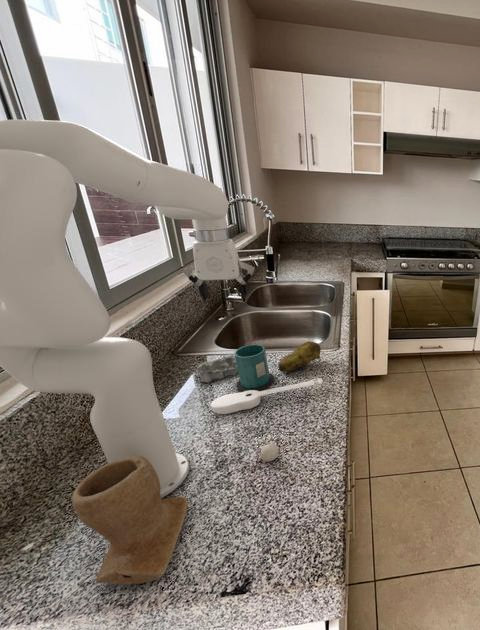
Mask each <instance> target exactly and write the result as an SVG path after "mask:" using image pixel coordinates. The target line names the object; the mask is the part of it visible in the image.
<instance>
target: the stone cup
mask: <svg viewBox="0 0 480 630" xmlns="http://www.w3.org/2000/svg"><path fill="white" fill-rule="evenodd" d="M71 504H72V507H73V510H74V512H75V514H76V515H77V517H78V519H79V520H80V521H81V522H82V524H84V525H86V526H87V527H88V528H90V529H92V530H93V531H95V533H98V534H99V535H100V536H102V537H103V538H104V539H106V540H107V541H108V542H109V543H110V546H109V548H108V551H107V553H106V555H105V557H104V560H103V563H102V565H101V566H100V569H99V571H98V573H97V575H96V577H95V582H96V583H97V584H110V585H113V586H115V585H120V586H121V585H126V586H130V585H134V584H135V585H138V584H139V585H141V584H146V583H148V582H154V581H155V580H158V579H160V578H162V577H163V576H164V574H165V573H166V570H167V568H168V566H169V563H170V561H171V558H172V556H173V553H174V550H175V548H176V545H177V542H178V539H179V537H180V534H181V531H182V528H183V526H184V523H185V518H186V515H187V511H188V504H189V501H188V498H186V497H183V496H176V497H175V496H174V497H167V498H161V495H160V481H159V479H158V476H157V473H156V471H155V470H154V468H153V466H152V465H151V463H150V462H149V461H148V460H147V459H146V458H144V457H141V456H128V457H124V458H120V459H118V460H115V461H112V462H110V463H108V462H107V463H105V464H104V465H101V466H100V467H99V468H97V469H96V470H94V471H93V472H92V471H91V473H89V474H88V475H87V476H86V477H84V478H83V479H82V480H81V481H80V483H78V485H77V486H76V487H75V489H74V491H73V493H72V495H71Z"/></svg>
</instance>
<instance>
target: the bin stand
mask: <svg viewBox="0 0 480 630" xmlns="http://www.w3.org/2000/svg"><path fill="white" fill-rule="evenodd" d="M269 375H270V379H269V381H268V382H267V383H266V384H264V385H263V386H260V387H257V388H245V387H243V386H242V385H241V383H240V379H239V380H238V381H237V383H236V389H237V390H238V391H239V392H240V393H241V392H244V391H249V390H256V391H264V390H268V389H269V388H270V387H271V386H272V385H273V384H274V382H275V377H274V375H273V374H272V373H270V372H269Z"/></svg>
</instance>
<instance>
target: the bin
mask: <svg viewBox="0 0 480 630" xmlns="http://www.w3.org/2000/svg"><path fill="white" fill-rule="evenodd" d="M233 355H234V356H235V359H236V364H237V369H238V372H237V374H238V378H239V380H240V383H241V385H242V386H243V387H245V388H257V387H260V386H263V385H264V384H266V383H267V382H268V381H269V379H270V375H269V373H270V369H269V364H268V358H267V353H266V348H265V346H264V345H262V344H258V343H257V344H248V345H244V346H241V347H239V348H237V349H236V350H235V352H233Z"/></svg>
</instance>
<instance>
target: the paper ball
mask: <svg viewBox="0 0 480 630" xmlns="http://www.w3.org/2000/svg"><path fill="white" fill-rule="evenodd" d="M279 451H280V450H279V447H278V446H277V444H275V443H268V444H264V446H263V447H262V448H261V450H260V458H261V459H262V460H263V461H264V462H268V463H269V462H272V461H274V460H276V459H277V458H278V455H279Z"/></svg>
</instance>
